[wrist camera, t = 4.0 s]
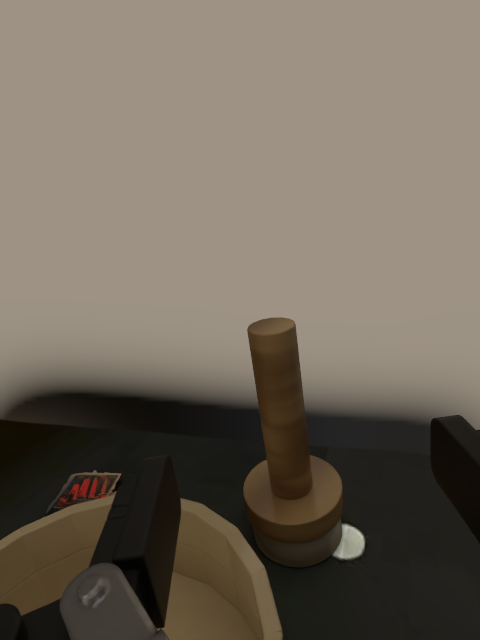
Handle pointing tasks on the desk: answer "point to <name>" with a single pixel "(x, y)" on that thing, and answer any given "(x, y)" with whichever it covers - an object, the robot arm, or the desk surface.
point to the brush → (288, 459)
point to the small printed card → (84, 489)
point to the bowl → (187, 578)
